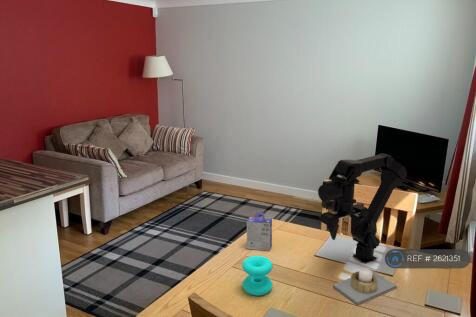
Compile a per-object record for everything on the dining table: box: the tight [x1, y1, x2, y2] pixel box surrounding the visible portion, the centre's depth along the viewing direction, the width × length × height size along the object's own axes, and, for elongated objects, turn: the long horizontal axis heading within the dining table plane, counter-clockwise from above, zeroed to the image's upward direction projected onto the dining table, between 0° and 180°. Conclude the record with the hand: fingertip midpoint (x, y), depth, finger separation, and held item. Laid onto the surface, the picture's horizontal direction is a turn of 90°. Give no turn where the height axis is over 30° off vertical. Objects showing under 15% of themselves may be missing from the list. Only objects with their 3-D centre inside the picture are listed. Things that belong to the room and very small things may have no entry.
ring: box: [350, 271, 377, 293], centre depth 126 cm, size 8×8×3 cm
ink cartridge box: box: [246, 212, 273, 252], centre depth 154 cm, size 10×6×14 cm, turn 78°
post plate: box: [332, 267, 398, 306], centre depth 126 cm, size 18×11×6 cm, turn 119°
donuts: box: [241, 255, 274, 296], centre depth 126 cm, size 10×10×10 cm
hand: (343, 236), depth 137 cm, fingers open, 9 cm apart
